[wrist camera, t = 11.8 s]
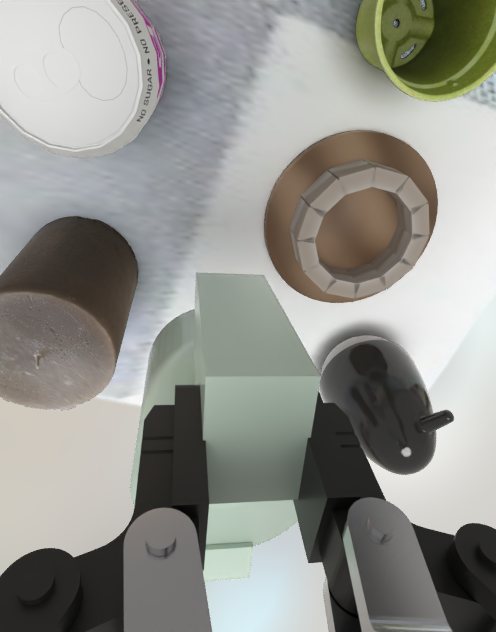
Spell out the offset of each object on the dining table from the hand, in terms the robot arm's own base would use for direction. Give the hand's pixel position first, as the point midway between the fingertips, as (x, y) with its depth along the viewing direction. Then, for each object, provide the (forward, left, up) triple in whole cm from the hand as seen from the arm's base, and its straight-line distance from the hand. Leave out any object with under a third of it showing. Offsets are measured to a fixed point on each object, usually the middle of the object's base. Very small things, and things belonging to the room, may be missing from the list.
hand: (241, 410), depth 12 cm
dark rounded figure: (+3, +27, -29) cm, 40 cm away
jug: (+4, +3, -9) cm, 10 cm away
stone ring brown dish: (-6, +13, -29) cm, 32 cm away
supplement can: (-1, -10, -29) cm, 31 cm away
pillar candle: (+14, -2, -29) cm, 33 cm away
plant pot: (-18, +3, -29) cm, 34 cm away
